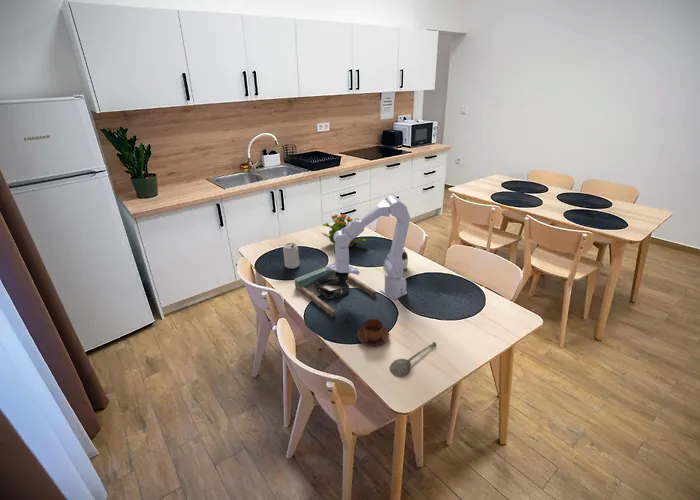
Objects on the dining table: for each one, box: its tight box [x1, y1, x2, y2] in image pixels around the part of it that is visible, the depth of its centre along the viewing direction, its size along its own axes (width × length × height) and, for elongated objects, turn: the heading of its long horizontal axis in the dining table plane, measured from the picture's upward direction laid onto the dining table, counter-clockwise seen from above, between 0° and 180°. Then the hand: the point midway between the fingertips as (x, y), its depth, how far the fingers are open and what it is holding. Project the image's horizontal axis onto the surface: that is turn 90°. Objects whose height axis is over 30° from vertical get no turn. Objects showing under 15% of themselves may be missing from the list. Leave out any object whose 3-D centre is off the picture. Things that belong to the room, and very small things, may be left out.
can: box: [282, 242, 300, 270], centre depth 184 cm, size 8×8×12 cm
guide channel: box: [294, 262, 377, 318], centre depth 163 cm, size 29×24×5 cm
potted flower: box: [321, 214, 366, 248], centre depth 204 cm, size 25×24×18 cm
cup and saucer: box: [356, 318, 390, 347], centre depth 134 cm, size 12×12×6 cm
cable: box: [313, 278, 350, 300], centre depth 165 cm, size 17×14×4 cm
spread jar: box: [383, 246, 409, 273], centre depth 178 cm, size 12×11×12 cm
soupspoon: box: [389, 341, 437, 378], centre depth 124 cm, size 22×3×7 cm
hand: (343, 286), depth 156 cm, fingers closed
